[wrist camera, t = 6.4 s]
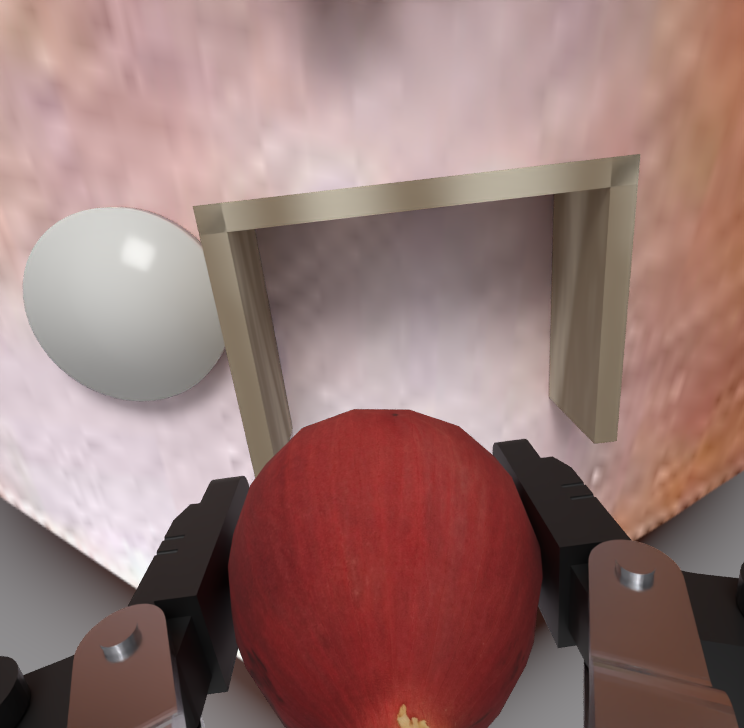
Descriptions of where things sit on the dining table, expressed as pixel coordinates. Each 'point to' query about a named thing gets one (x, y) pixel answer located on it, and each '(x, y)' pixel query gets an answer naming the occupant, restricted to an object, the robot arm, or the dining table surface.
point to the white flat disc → (123, 303)
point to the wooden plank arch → (565, 180)
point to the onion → (384, 576)
